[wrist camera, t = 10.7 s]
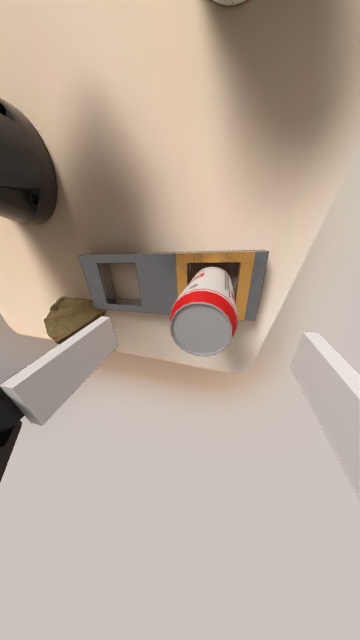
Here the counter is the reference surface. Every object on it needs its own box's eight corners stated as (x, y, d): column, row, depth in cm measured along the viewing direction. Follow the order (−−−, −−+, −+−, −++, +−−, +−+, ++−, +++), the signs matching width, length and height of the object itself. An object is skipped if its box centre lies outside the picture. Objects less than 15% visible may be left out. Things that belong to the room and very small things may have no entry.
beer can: (189, 292, 28) (156, 344, 15) (202, 258, 25) (176, 281, 11) (221, 306, 28) (218, 371, 14) (238, 272, 25) (257, 315, 11)
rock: (47, 311, 36) (77, 342, 37) (14, 305, 28) (53, 346, 28) (85, 282, 38) (113, 312, 38) (64, 268, 29) (100, 307, 30)
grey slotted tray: (104, 303, 34) (93, 309, 31) (91, 254, 30) (76, 255, 27) (252, 312, 27) (255, 321, 24) (263, 249, 23) (269, 251, 20)
